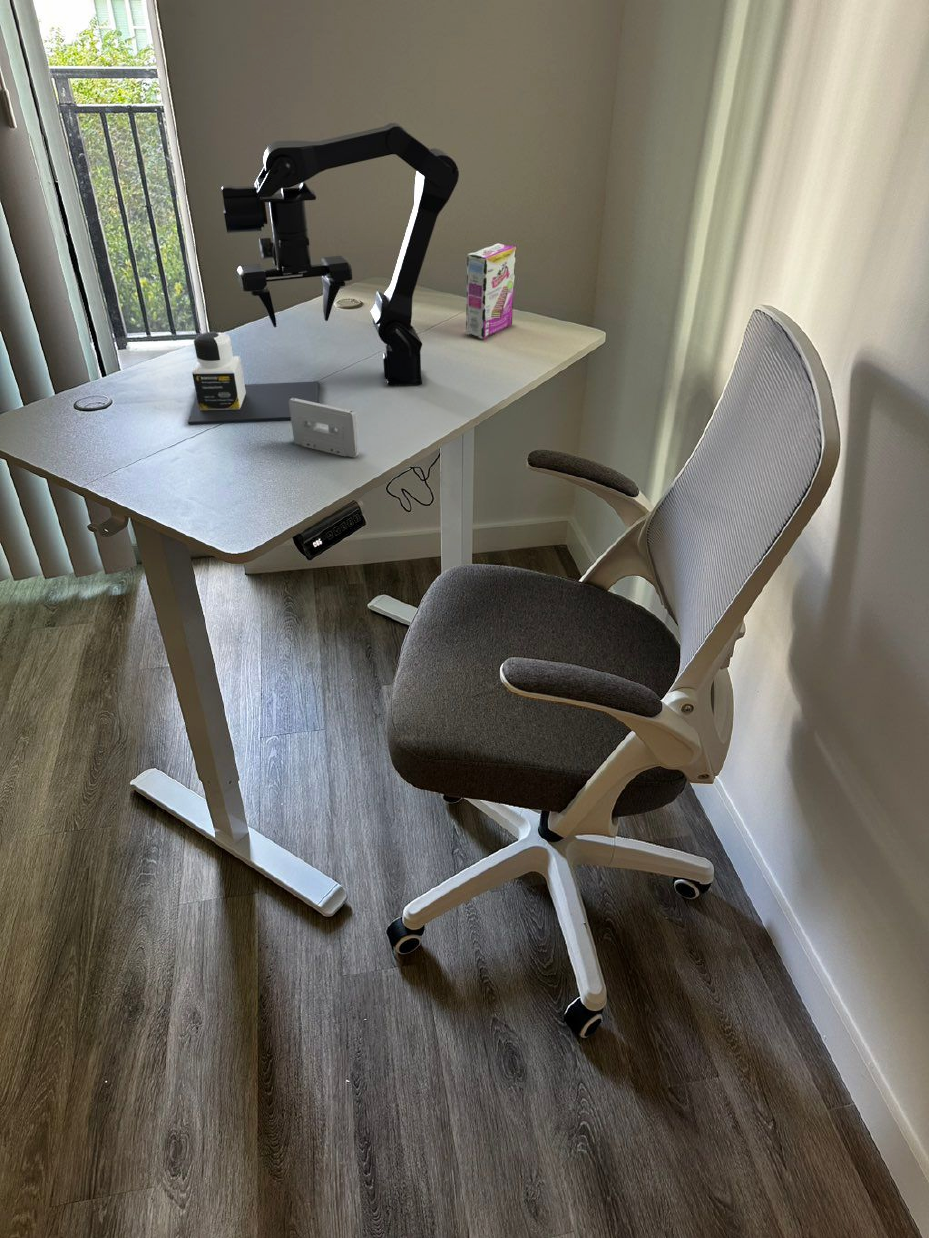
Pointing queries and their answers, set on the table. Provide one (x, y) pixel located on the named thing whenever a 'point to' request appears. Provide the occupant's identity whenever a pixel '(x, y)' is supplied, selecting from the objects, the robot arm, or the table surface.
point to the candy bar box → (490, 290)
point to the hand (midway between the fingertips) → (300, 323)
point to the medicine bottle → (217, 373)
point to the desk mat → (259, 404)
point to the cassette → (330, 439)
